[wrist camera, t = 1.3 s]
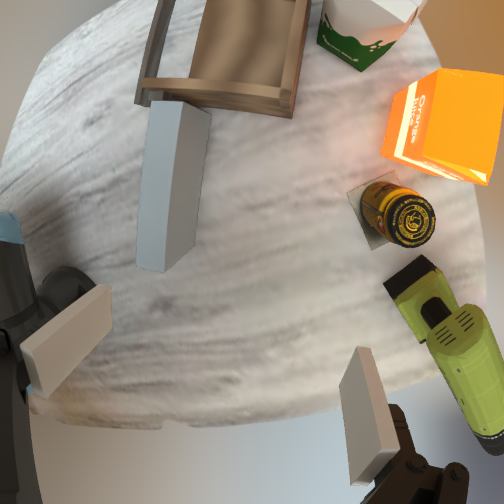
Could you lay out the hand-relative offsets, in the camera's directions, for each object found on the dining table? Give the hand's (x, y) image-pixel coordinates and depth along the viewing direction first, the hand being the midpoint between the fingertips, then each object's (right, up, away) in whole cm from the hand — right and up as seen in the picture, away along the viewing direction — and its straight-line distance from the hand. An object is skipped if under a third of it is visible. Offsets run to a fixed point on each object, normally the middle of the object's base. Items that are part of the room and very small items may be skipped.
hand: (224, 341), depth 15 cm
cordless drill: (+28, -5, +26) cm, 39 cm away
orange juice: (+22, +20, +20) cm, 36 cm away
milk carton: (+14, +32, +17) cm, 39 cm away
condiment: (+19, +10, +23) cm, 31 cm away
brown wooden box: (-2, +31, +19) cm, 37 cm away
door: (-7, +14, +25) cm, 30 cm away
